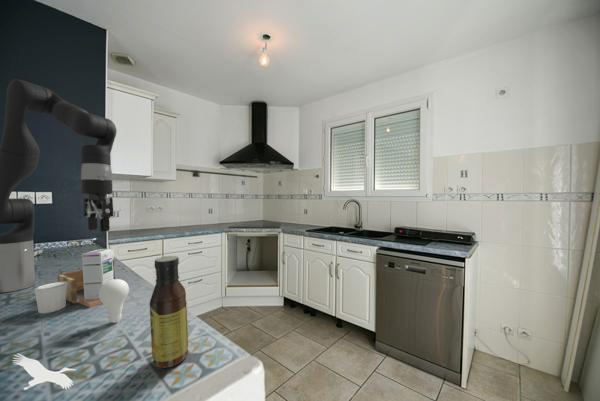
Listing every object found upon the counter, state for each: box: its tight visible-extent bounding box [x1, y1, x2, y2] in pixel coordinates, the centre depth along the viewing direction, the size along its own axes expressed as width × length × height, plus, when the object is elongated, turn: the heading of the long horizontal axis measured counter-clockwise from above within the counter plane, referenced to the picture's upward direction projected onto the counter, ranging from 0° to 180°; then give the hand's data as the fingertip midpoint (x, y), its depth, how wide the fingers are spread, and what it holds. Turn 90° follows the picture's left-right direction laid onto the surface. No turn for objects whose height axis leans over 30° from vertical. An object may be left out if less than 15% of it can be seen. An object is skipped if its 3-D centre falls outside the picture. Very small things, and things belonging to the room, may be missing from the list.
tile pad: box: [78, 297, 104, 309], centre depth 77 cm, size 8×8×1 cm
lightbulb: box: [99, 278, 130, 324], centre depth 62 cm, size 6×6×11 cm
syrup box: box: [81, 248, 116, 300], centre depth 77 cm, size 6×6×14 cm
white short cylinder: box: [34, 281, 68, 314], centre depth 71 cm, size 7×7×7 cm
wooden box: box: [57, 269, 84, 304], centre depth 82 cm, size 13×10×7 cm
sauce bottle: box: [149, 255, 189, 369], centre depth 47 cm, size 6×6×20 cm
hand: (98, 230), depth 76 cm, fingers open, 8 cm apart
